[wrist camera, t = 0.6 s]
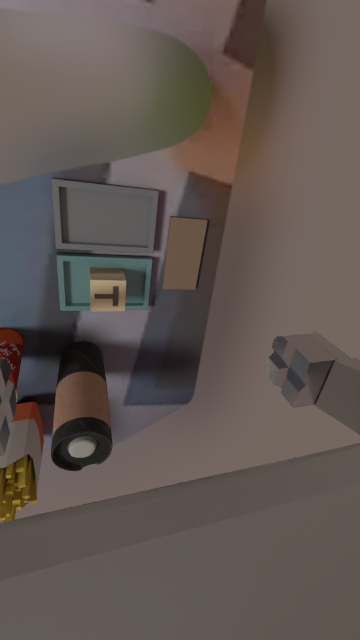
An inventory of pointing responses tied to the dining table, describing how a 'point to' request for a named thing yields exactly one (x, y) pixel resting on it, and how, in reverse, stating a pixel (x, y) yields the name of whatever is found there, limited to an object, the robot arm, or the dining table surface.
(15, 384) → the paper cup
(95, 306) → the letter cube
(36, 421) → the french fries container
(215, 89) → the dining table surface
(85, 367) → the travel mug
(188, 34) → the dining table surface
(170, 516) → the robot arm
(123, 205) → the gray bin
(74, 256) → the teal bin
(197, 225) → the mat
